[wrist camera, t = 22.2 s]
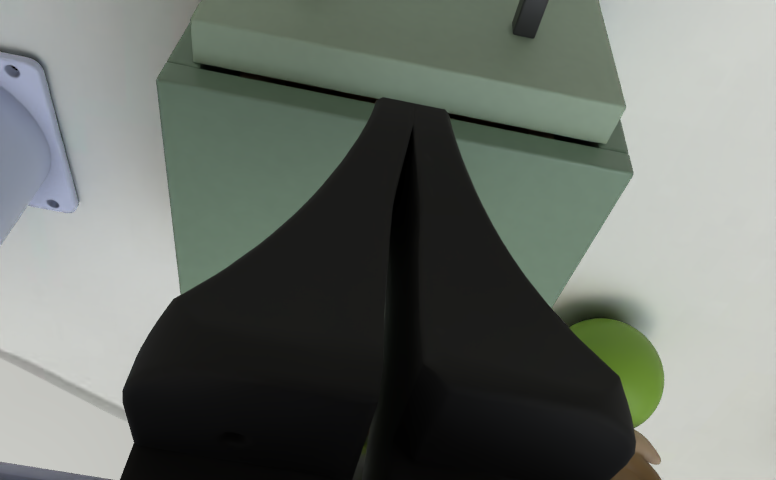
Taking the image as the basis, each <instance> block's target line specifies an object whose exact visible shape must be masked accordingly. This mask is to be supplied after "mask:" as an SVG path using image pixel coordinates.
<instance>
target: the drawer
mask: <svg viewBox="0 0 776 480" xmlns="http://www.w3.org/2000/svg"><path fill="white" fill-rule="evenodd" d="M190 21H191V37H192V53H193V61H194V62H195V63H200V64H205V65H210V66H215V67H220V68H225V69H230V70H235V71H240V72H241V73H240V76H239V77H244V78H249V79H254V80H259V81H264V82H269V83H274V84H279V85H284V86H289V87H294V88H299V89H304V90H309V91H314V92H319V93H324V94H329V93H330V92H331V91H332V90H335V91H340V92H345V93H350V94H355V95H360V96H365V97H370V98H375V99H380V98H382V97H386V98H391V99H396V100H400V101H405V102H410V103H415V104H420V105H425V106H430V107H435V108H440V109H445V110H446V111H447V113H448V114H449V116H450V119H455V120H460V121H465V122H470V123H475V124H480V125H485V126H490V127H495V128H500V129H505V130H510V131H515V132H520V133H525V134H530V135H535V136H540V137H545V138H550V139H554V134H555V135H560V136H565V137H570V138H575V139H580V140H585V141H590V142H595V143H600V144H606V143H607V142H608V140H609V138H610V136H611V134H612V133H613V131H614V129H615V127H616V125H617V123H618V122H619V120H620V118H621V116H622V114H623V112H624V111H625V109H626V105H625V101H624V97H623V93H622V89H621V85H620V81H619V78H618V74H617V70H616V66H615V62H614V58H613V54H612V51H611V47H610V43H609V39H608V35H607V31H606V27H605V24H604V20H603V16H602V12H601V8H600V4H599V0H201V2H200V4H199V5H198V7H197V9H196V10H195V12H194V14H193V15H192V17H191V19H190Z"/></svg>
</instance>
